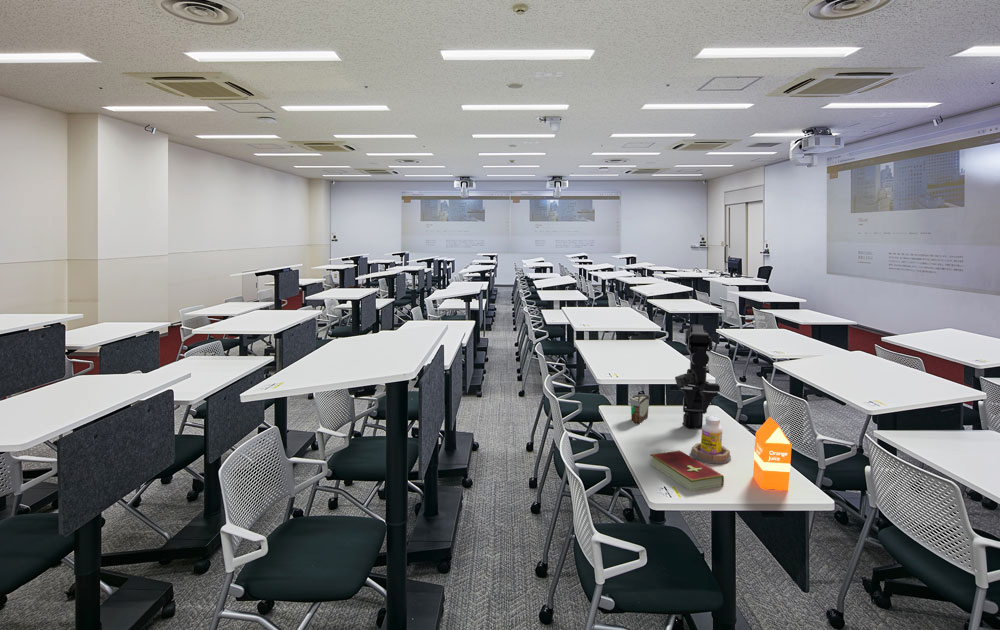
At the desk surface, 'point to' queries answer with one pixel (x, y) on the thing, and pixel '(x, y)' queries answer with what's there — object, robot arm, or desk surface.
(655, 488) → the desk surface
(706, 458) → the coaster ring
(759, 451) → the orange juice
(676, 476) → the hardcover book
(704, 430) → the supplement bottle
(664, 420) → the desk surface
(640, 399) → the food container
